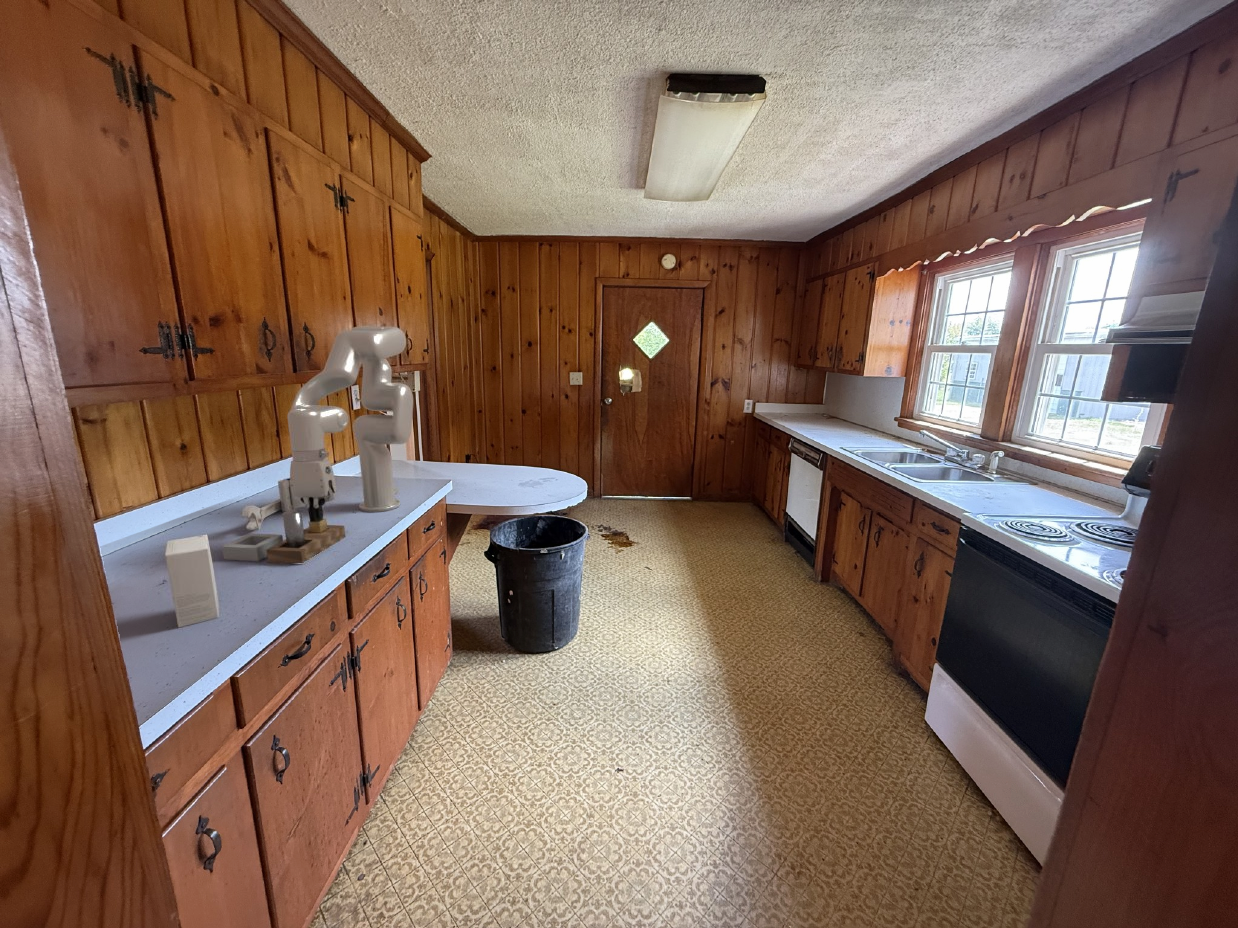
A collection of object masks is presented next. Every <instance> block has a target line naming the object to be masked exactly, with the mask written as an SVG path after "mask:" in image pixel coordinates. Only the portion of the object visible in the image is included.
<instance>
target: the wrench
mask: <svg viewBox="0 0 1238 928" xmlns="http://www.w3.org/2000/svg"><path fill="white" fill-rule="evenodd" d="M280 510H282V507H281V500H280V498H278V499H276V500H274V501H272V502H270V503H268V504H266V505H264V506H262V507H259V506H256V505H255V504H253V505H246V506H244V508H243V509H242V512H241V518H242V519H249V522H248V523H247V525H246V527H245V528H246V529H247V531H260V530H261V526H262V523H263V521H264V520H265V518H267V517H269V516H270V515H273V514H274V513H277V512H279V511H280Z"/></svg>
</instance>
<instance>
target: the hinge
mask: <svg viewBox="0 0 1238 928" xmlns="http://www.w3.org/2000/svg"><path fill="white" fill-rule="evenodd" d="M277 485H278V492H279V499H280V500H281V507H282V509H281V512H286V511H291V510H298V509H300V508H303V507H305V504H304V503H303V502H302V501H299V500H296V499H294V495H293V494H292V492H291V486H290V477H287V478H284V479H281V480H278V481H277Z"/></svg>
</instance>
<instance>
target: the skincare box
mask: <svg viewBox="0 0 1238 928" xmlns="http://www.w3.org/2000/svg"><path fill="white" fill-rule="evenodd" d="M209 541H210V540H209V538H208V535H207V534H203V535H196V536H191V537H185V538H184V537H183V538H179V539H178V538H177V539H172V540H167V542H166V547H165V552H164V556H165V562H166V566H167V567H166V568H167V573H168V578H169V583H170V589H171V594H172V600H173V605H174V612H175V616H176V622H177V626H178V628H182V627H183V628H184V627H188V626H191V625H195V624H199V623H203V622H208V621H210V620H211V621H212V620H216V619H219V617H220V611H219V610H220V609H219V608H220V607H219V605H220V604H219V597H218V591H217V590H218V589H217V583H216V576H215V570H214V565H213V564H214V563H213V559H212V551H211V549H210V547H211V546H210V542H209Z"/></svg>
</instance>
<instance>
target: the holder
mask: <svg viewBox="0 0 1238 928" xmlns="http://www.w3.org/2000/svg"><path fill="white" fill-rule="evenodd" d="M283 540H284V537H283V534H276V533H275V534H272V533H270V534H269V533H255V532H253V533H252V532H250V533H248V534H246V535H243V536H241V537H239V538H237V539H234V540H233V541H230V542H229V543H226V544H224V545H223V546H221V547H222V553H223V559H224V560H231V561H232V560H233V561H235V560H236V561H250V562H251V561H253V562H259V561H261V560H262V559H264V558H266V557H267V551H266V549H268V548H270V547H272V546H274V545H276V544H278V543H280V542H281V541H283Z"/></svg>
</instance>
